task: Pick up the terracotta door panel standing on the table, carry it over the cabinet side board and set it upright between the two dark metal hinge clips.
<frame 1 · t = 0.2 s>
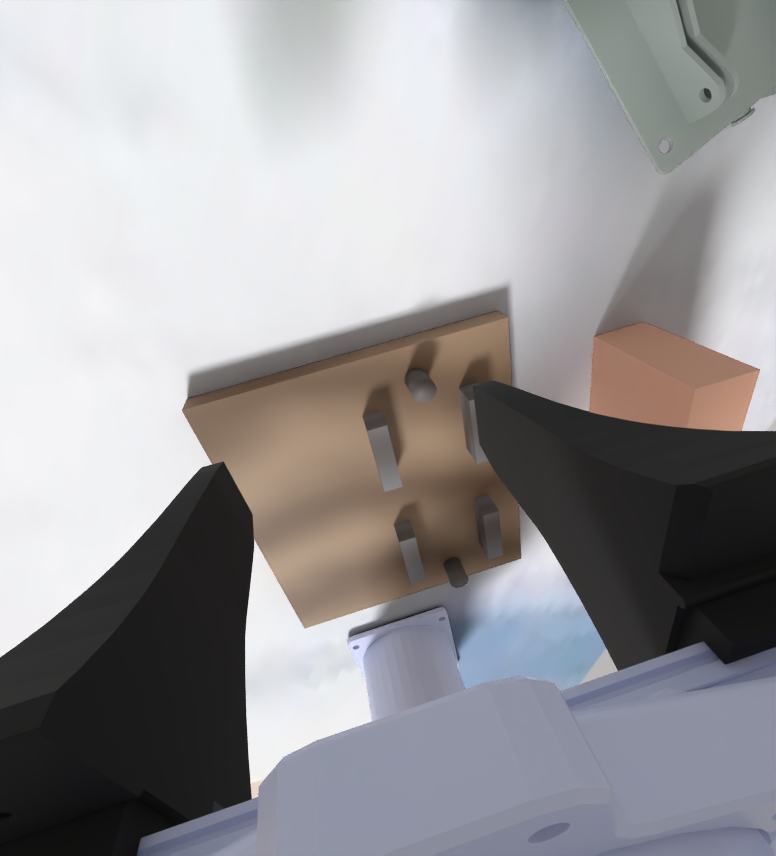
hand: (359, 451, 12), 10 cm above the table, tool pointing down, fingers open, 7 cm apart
door panel: (609, 417, 27), on the table
cabinet side board: (384, 487, 26), on the table
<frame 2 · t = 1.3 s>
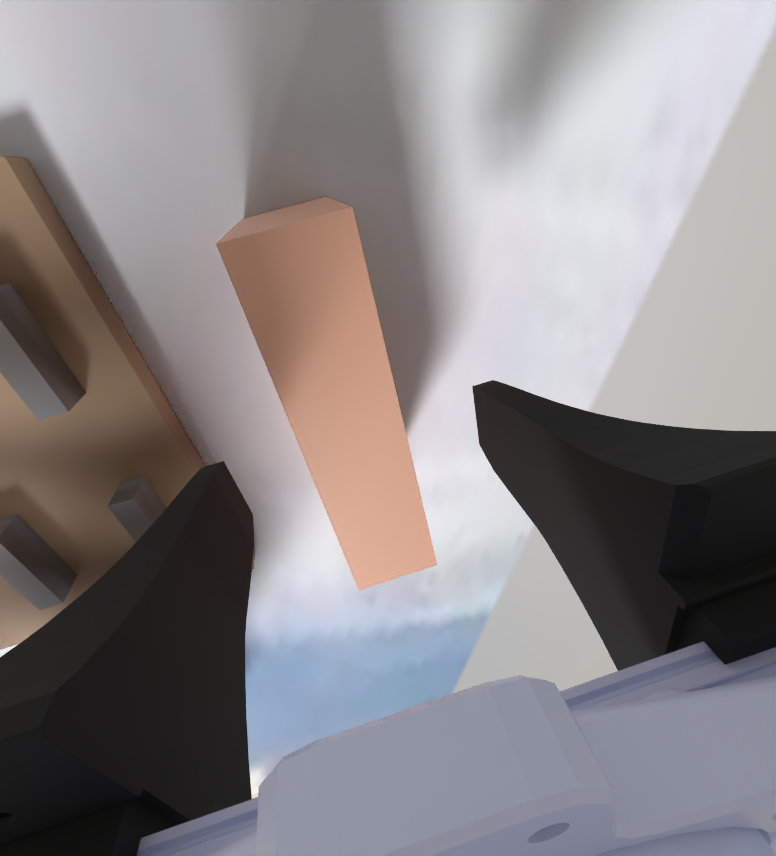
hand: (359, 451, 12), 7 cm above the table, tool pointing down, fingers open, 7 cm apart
door panel: (333, 360, 18), on the table
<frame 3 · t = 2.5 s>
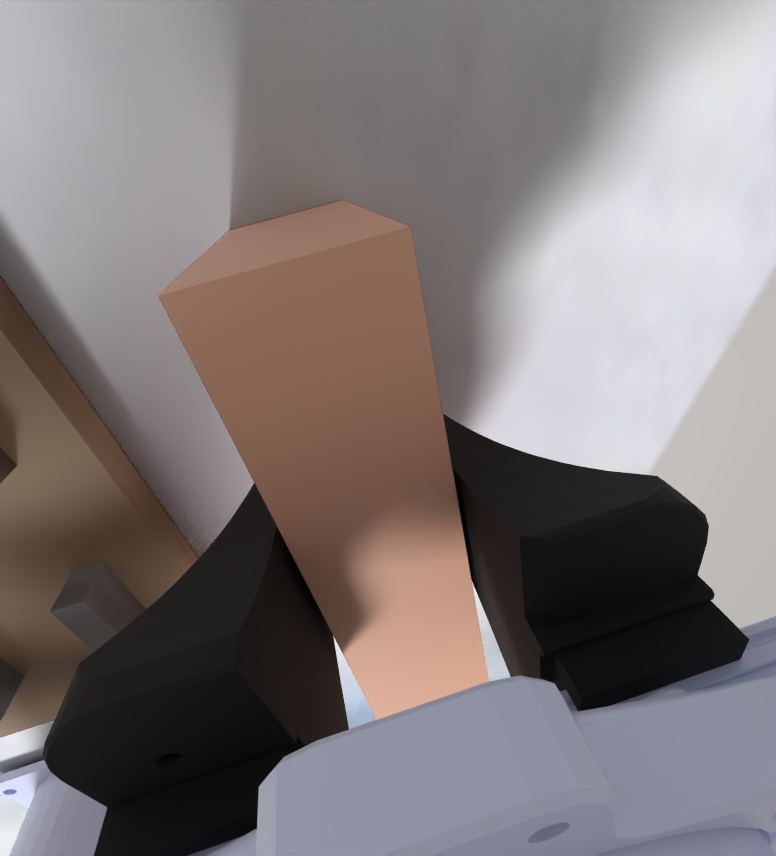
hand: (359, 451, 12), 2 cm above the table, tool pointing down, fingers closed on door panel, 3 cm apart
door panel: (348, 411, 14), on the table, touching gripper
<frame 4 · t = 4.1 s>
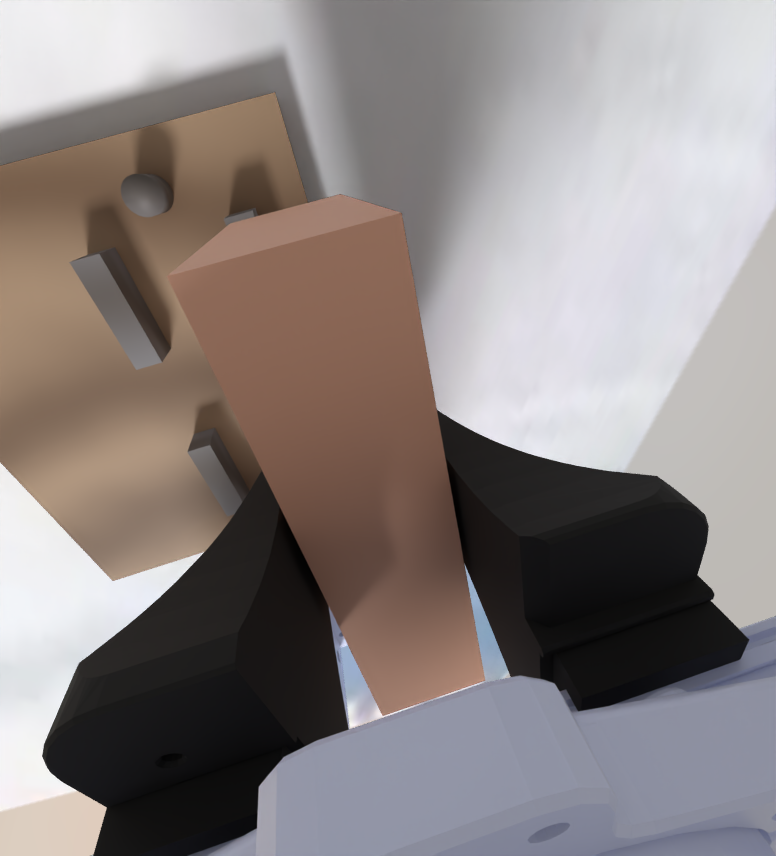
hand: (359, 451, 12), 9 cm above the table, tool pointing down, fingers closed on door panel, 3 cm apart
door panel: (346, 401, 14), point 6 cm above the table, touching gripper
cabinet side board: (179, 384, 19), on the table
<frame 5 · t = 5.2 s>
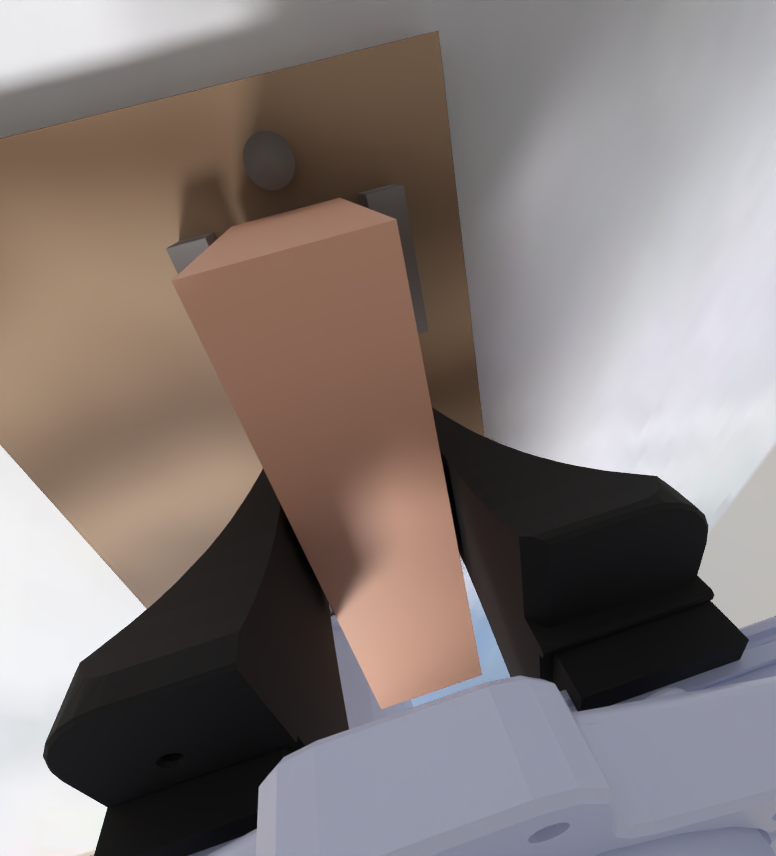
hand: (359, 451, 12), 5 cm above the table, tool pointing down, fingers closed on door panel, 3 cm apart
door panel: (345, 401, 15), point 2 cm above the table, touching gripper
cabinet side board: (264, 403, 16), on the table
when the fingers open (4 cm above the table, at t = 5.6 s): door panel stays where it is, resting on cabinet side board.
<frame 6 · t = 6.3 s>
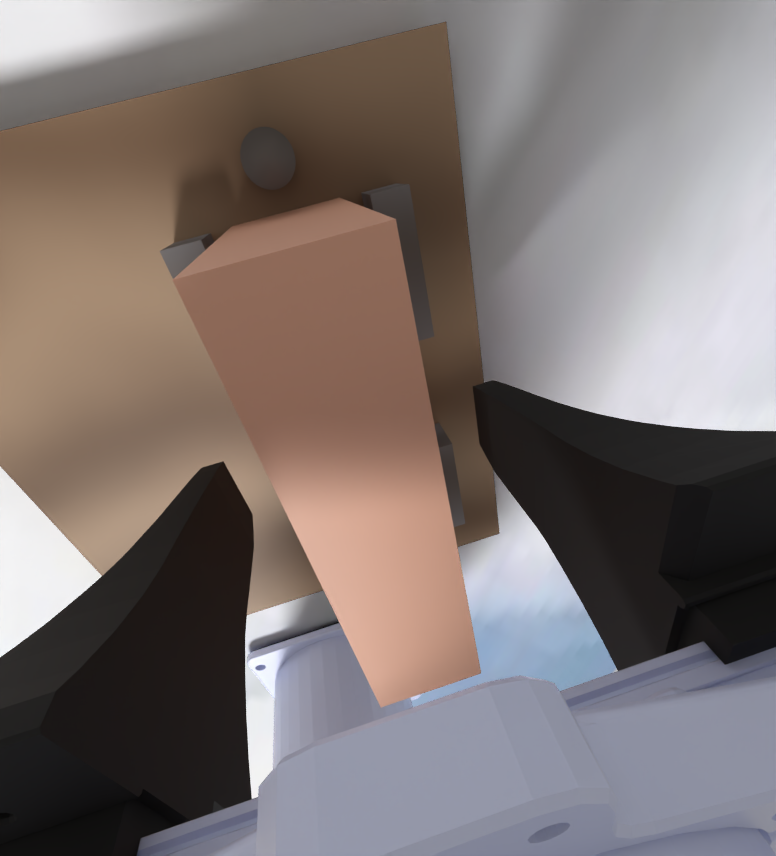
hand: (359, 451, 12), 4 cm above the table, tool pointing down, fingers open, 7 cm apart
door panel: (345, 400, 15), point 1 cm above the table, touching cabinet side board
cabinet side board: (263, 409, 15), on the table
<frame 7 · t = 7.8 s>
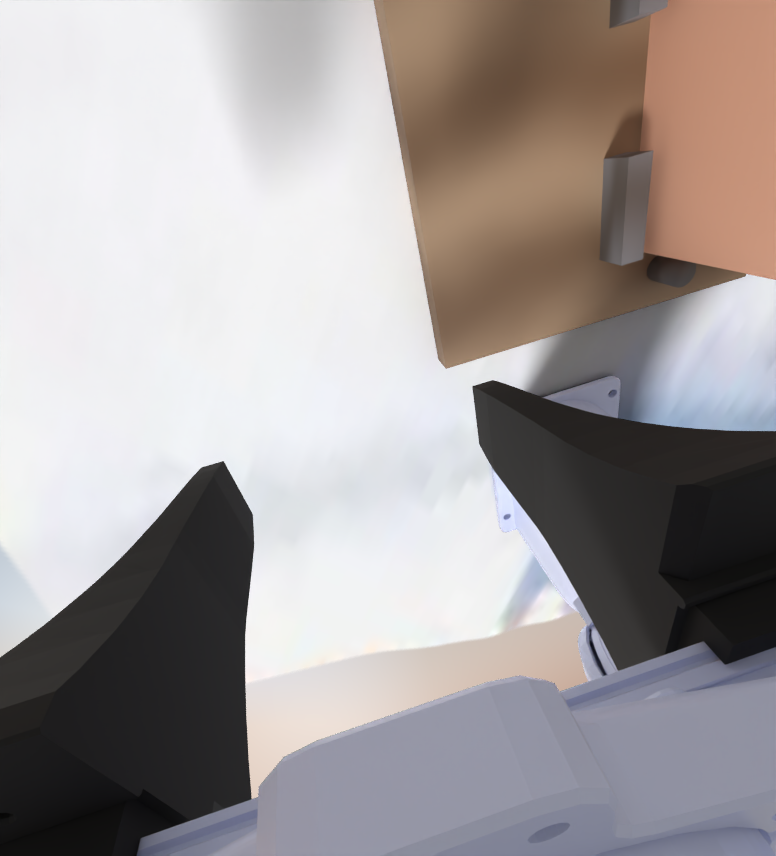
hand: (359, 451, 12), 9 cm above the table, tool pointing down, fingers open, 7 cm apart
door panel: (680, 76, 16), point 1 cm above the table, touching cabinet side board
cabinet side board: (589, 102, 17), on the table
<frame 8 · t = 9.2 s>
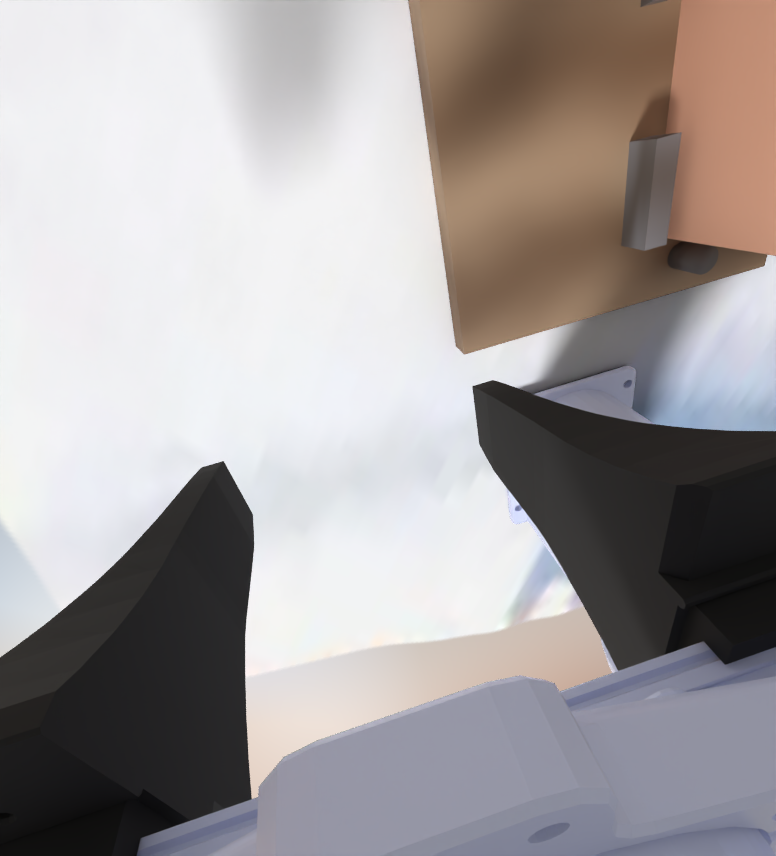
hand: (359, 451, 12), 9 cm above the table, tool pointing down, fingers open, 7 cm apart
door panel: (709, 58, 16), point 1 cm above the table, touching cabinet side board
cabinet side board: (616, 84, 17), on the table
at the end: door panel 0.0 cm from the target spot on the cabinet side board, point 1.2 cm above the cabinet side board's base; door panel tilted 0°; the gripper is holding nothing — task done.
